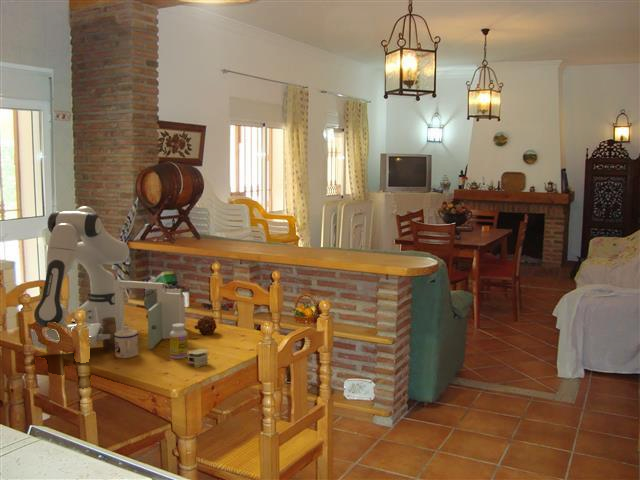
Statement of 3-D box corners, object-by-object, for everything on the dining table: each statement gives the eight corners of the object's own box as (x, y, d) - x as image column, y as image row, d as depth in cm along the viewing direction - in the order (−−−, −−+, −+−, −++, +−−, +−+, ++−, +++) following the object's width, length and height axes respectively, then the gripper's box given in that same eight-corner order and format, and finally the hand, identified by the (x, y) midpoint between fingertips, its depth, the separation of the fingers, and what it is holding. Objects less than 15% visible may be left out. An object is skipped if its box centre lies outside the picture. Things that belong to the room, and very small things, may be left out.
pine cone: (211, 340, 271) (199, 338, 280) (224, 326, 275) (212, 324, 284) (199, 326, 268) (188, 324, 277) (213, 312, 272) (201, 311, 281)
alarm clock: (168, 314, 310) (167, 285, 308) (169, 317, 303) (169, 287, 301) (144, 316, 306) (143, 286, 304) (145, 320, 299) (144, 289, 297)
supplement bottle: (178, 360, 239) (177, 328, 237) (166, 357, 243) (165, 325, 241) (191, 356, 244) (190, 324, 243) (179, 353, 248) (178, 321, 247)
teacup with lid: (113, 353, 248) (112, 324, 246) (137, 350, 251) (135, 322, 250) (117, 362, 237) (116, 332, 235) (141, 358, 241) (140, 329, 239)
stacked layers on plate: (201, 359, 241) (200, 346, 240) (215, 364, 235) (215, 350, 234) (179, 366, 233) (179, 352, 232) (194, 371, 227) (194, 357, 227)
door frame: (116, 334, 275) (114, 281, 272) (119, 332, 277) (117, 280, 274) (179, 340, 266) (178, 285, 263) (182, 338, 268) (181, 284, 265)
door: (155, 349, 252) (154, 310, 250) (148, 348, 252) (147, 310, 250) (166, 337, 268) (164, 301, 265) (159, 337, 268) (158, 301, 266)
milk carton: (178, 332, 278) (177, 290, 275) (164, 331, 279) (162, 290, 277) (185, 328, 285) (184, 287, 282) (171, 327, 286) (169, 287, 284)
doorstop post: (100, 350, 251) (99, 319, 249) (108, 347, 255) (106, 316, 254) (111, 352, 249) (110, 320, 248) (118, 348, 254) (117, 317, 252)
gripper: (70, 334, 238) (108, 332, 241) (78, 321, 258) (113, 319, 261) (71, 350, 239) (109, 347, 242) (79, 335, 259) (113, 333, 262)
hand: (111, 332), depth 252 cm, fingers open, 8 cm apart
